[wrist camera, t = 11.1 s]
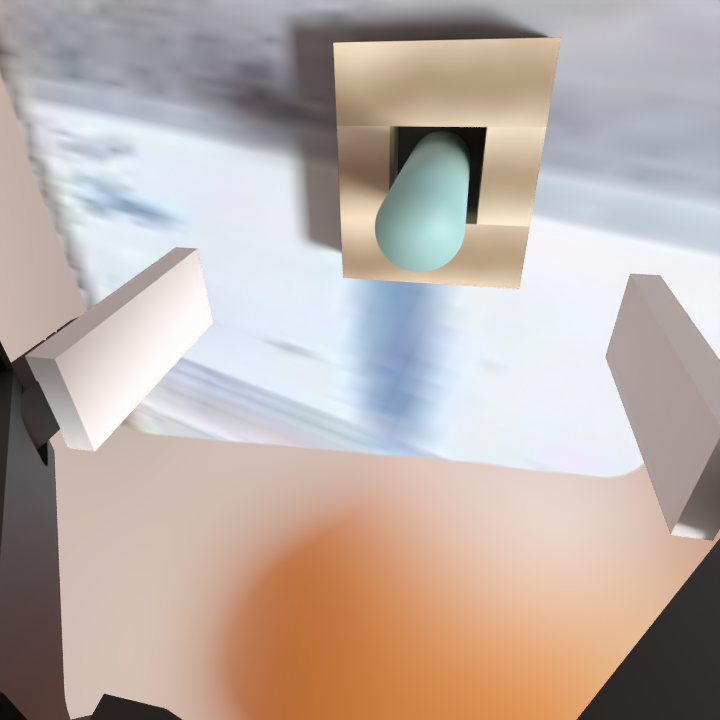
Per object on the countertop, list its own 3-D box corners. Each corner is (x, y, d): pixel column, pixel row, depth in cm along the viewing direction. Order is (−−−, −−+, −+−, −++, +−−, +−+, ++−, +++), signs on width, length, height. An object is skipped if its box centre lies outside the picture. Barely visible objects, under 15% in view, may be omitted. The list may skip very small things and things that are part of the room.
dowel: (411, 130, 33) (374, 182, 21) (473, 130, 32) (469, 184, 21) (409, 192, 35) (375, 269, 24) (467, 194, 34) (460, 274, 23)
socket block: (349, 41, 31) (333, 42, 28) (551, 37, 29) (561, 37, 25) (354, 257, 38) (343, 277, 35) (515, 265, 36) (519, 288, 33)
